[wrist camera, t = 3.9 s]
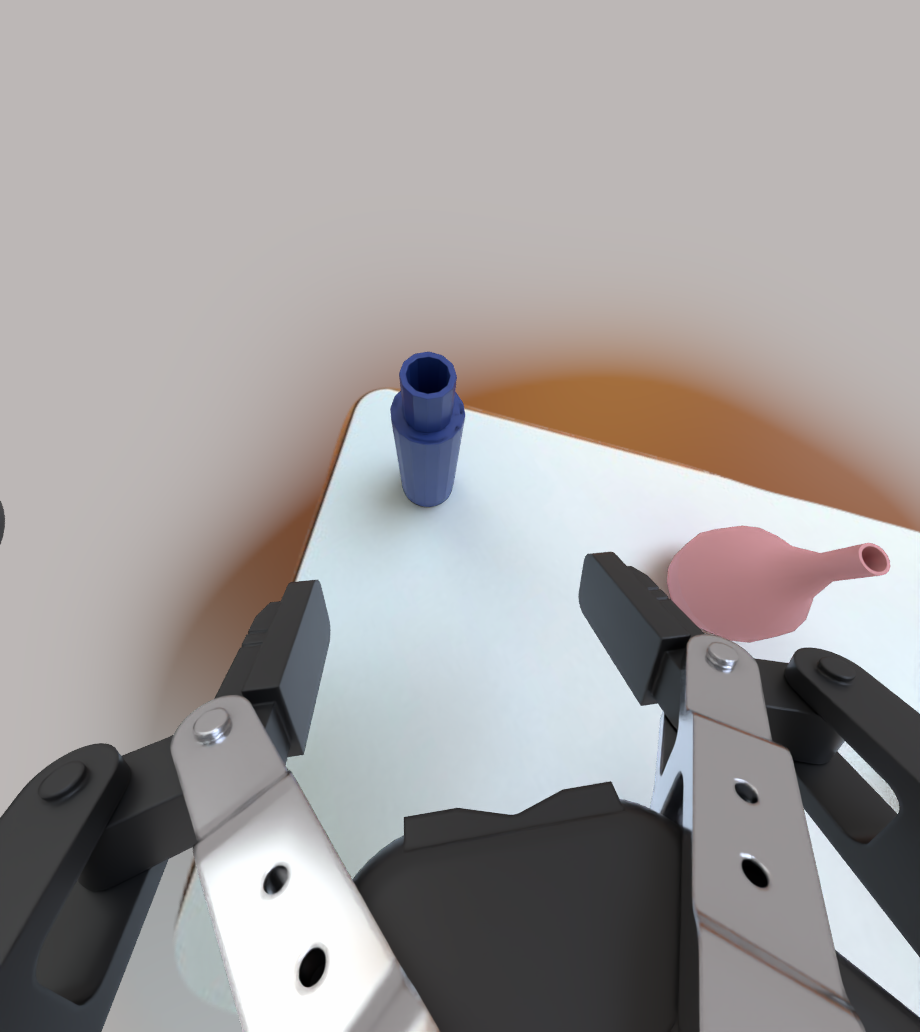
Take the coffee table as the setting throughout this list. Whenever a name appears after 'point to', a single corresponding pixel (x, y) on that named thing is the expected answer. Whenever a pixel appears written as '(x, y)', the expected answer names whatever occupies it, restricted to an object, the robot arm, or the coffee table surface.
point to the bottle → (427, 427)
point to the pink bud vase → (759, 580)
